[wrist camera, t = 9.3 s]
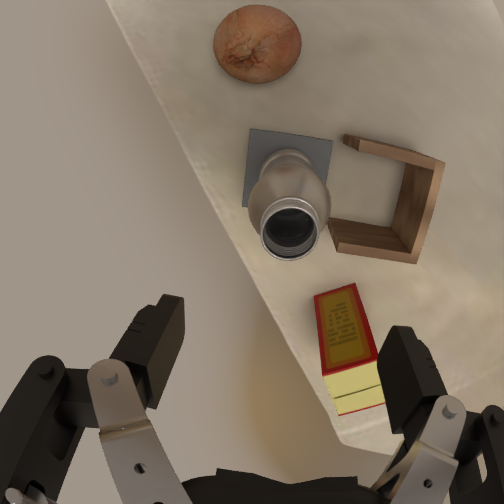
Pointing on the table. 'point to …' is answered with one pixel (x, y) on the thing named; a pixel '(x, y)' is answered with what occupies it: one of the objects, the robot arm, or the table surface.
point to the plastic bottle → (289, 205)
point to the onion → (257, 43)
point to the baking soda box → (347, 351)
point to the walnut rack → (407, 211)
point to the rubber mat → (271, 142)
